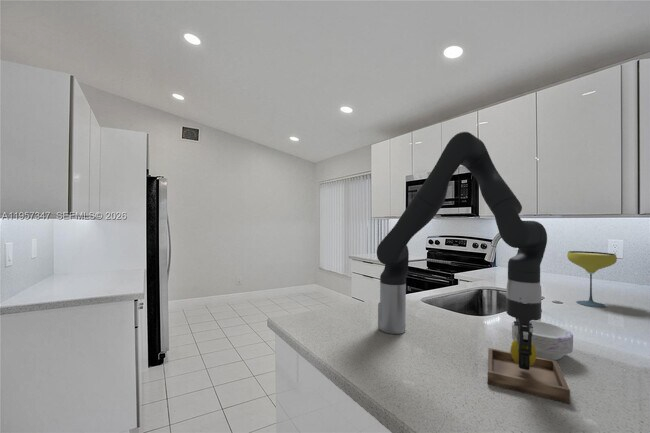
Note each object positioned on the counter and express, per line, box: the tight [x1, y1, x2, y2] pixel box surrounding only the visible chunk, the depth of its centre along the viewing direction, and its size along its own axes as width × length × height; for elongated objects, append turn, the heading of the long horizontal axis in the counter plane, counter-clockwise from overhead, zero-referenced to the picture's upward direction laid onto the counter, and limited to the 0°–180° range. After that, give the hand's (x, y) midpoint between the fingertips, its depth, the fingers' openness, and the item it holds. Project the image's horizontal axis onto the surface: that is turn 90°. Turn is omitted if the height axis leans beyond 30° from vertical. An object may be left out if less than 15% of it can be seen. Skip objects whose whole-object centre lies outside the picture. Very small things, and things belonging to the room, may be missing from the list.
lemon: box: [510, 339, 536, 366], centre depth 78 cm, size 6×6×8 cm
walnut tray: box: [487, 347, 571, 405], centre depth 77 cm, size 16×16×3 cm
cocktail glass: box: [566, 250, 618, 308], centre depth 147 cm, size 18×18×25 cm
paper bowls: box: [511, 320, 574, 361], centre depth 92 cm, size 15×15×8 cm
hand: (522, 363), depth 78 cm, fingers closed on lemon, 5 cm apart
